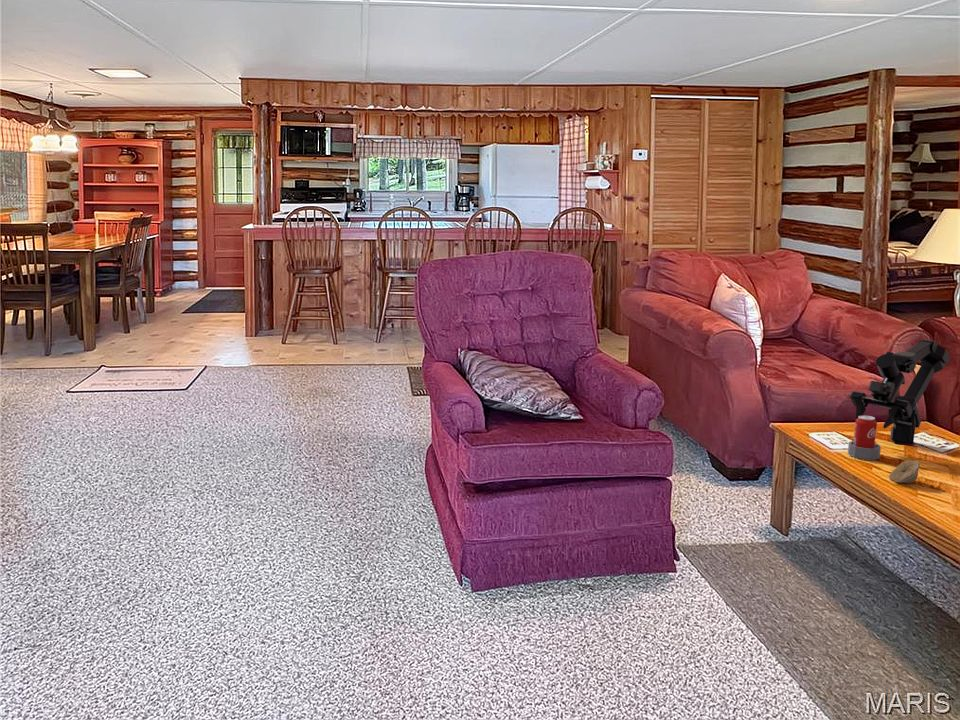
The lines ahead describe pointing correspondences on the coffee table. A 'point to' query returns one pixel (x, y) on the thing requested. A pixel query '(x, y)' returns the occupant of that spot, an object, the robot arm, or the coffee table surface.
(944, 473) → the coffee table surface
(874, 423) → the beverage can
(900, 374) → the robot arm
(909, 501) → the coffee table surface
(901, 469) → the fossil
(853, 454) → the can holder
